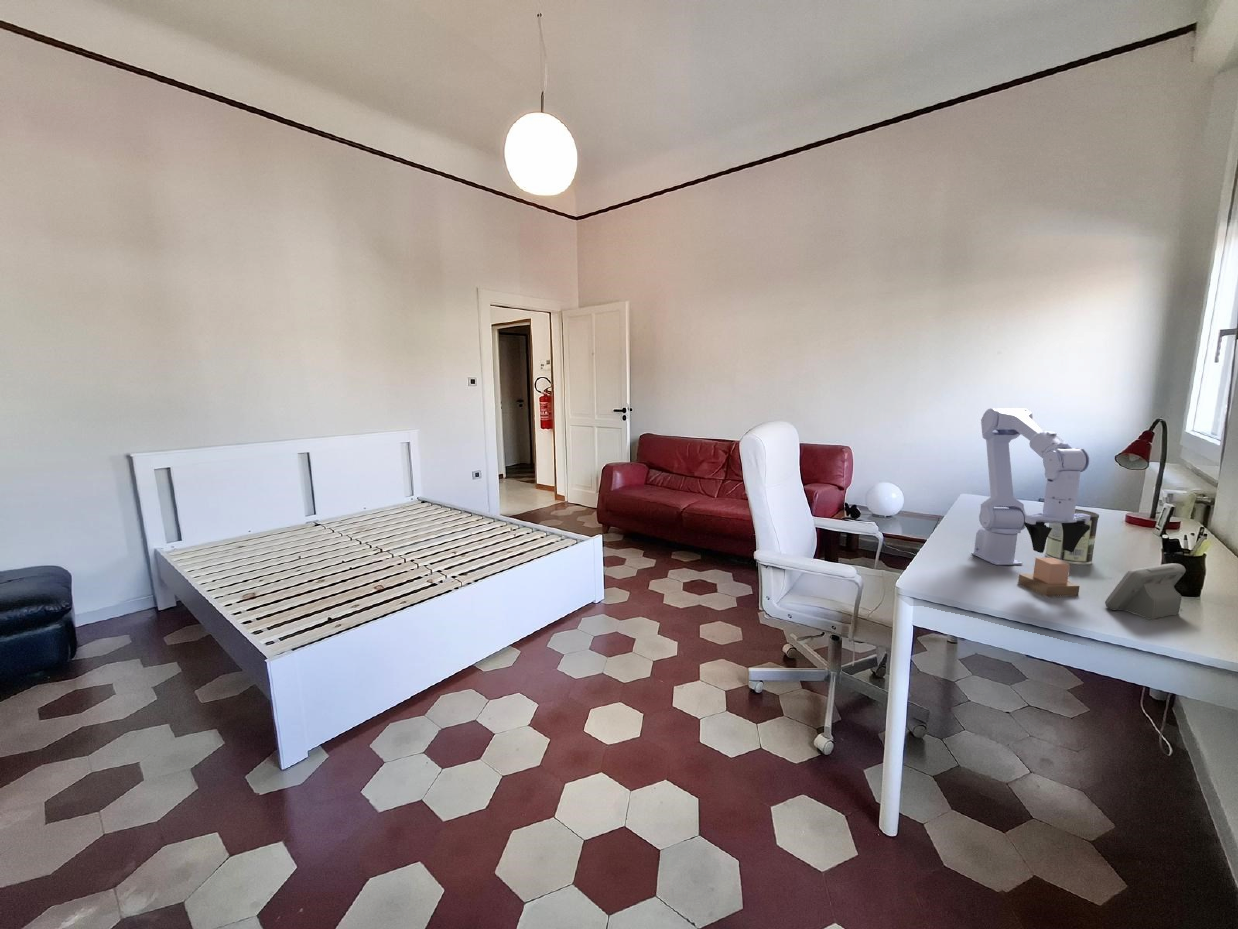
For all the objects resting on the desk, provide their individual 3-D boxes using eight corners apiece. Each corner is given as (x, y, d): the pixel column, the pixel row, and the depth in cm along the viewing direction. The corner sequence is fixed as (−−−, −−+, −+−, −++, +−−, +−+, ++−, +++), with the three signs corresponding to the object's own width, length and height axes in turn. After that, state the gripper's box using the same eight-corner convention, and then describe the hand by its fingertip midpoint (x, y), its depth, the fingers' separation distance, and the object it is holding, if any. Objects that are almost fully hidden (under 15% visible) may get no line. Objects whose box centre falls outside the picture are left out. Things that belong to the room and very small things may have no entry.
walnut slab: (1017, 585, 124) (1019, 574, 124) (1047, 584, 125) (1049, 573, 124) (1046, 598, 116) (1047, 586, 116) (1077, 597, 117) (1079, 585, 116)
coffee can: (1068, 552, 146) (1075, 507, 144) (1102, 564, 136) (1110, 516, 134) (1034, 552, 146) (1040, 507, 144) (1066, 565, 136) (1073, 517, 134)
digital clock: (1153, 599, 114) (1160, 556, 112) (1200, 617, 105) (1209, 571, 104) (1088, 602, 113) (1095, 559, 112) (1131, 620, 104) (1139, 574, 103)
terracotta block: (1033, 576, 122) (1035, 557, 121) (1051, 576, 122) (1053, 557, 121) (1048, 583, 118) (1051, 564, 117) (1067, 583, 118) (1070, 564, 117)
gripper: (1046, 502, 113) (1038, 557, 115) (1106, 500, 113) (1097, 556, 115) (1020, 495, 120) (1014, 547, 122) (1077, 494, 120) (1069, 546, 122)
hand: (1053, 551), depth 119 cm, fingers open, 7 cm apart
